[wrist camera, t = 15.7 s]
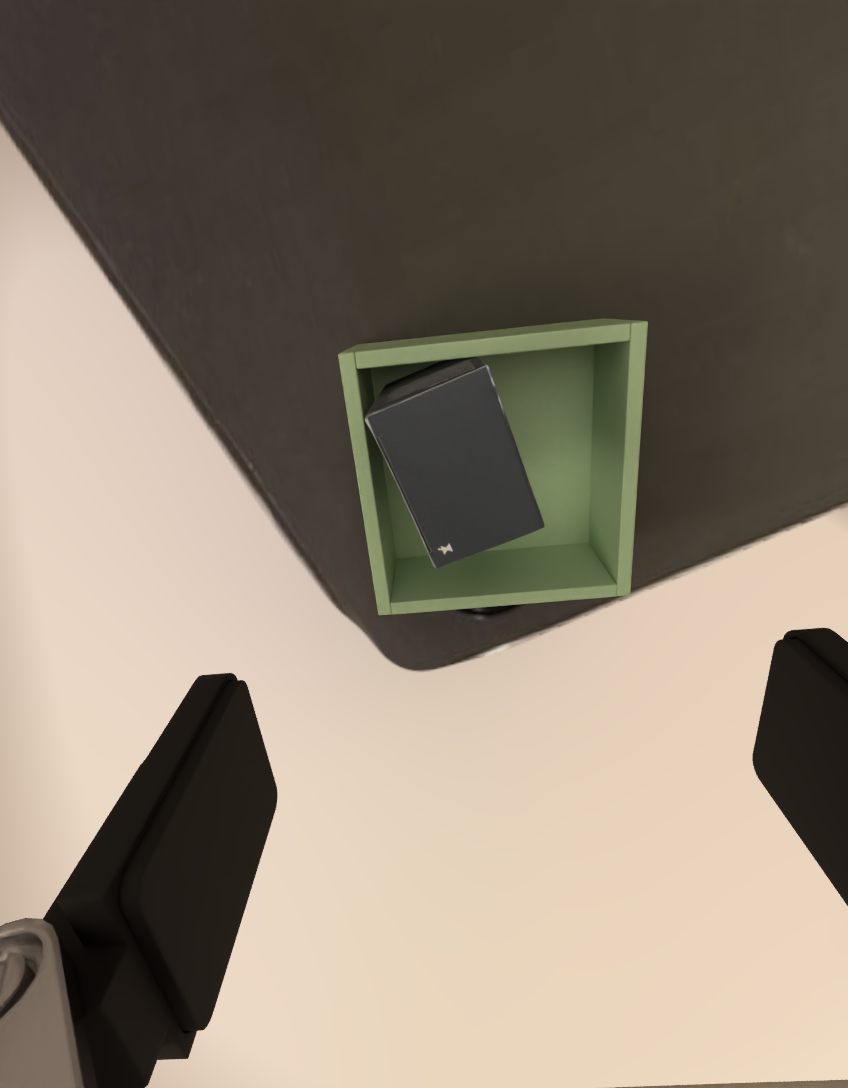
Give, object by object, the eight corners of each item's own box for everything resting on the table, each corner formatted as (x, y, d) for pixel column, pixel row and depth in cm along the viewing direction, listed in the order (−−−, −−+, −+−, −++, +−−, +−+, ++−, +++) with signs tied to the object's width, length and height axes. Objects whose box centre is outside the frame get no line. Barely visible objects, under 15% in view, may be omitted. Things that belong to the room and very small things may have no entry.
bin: (387, 563, 38) (378, 615, 31) (356, 344, 32) (337, 353, 25) (595, 545, 37) (630, 595, 31) (603, 318, 31) (648, 320, 25)
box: (514, 467, 34) (548, 531, 24) (431, 499, 35) (431, 573, 25) (470, 345, 31) (489, 361, 21) (381, 384, 32) (360, 417, 22)
